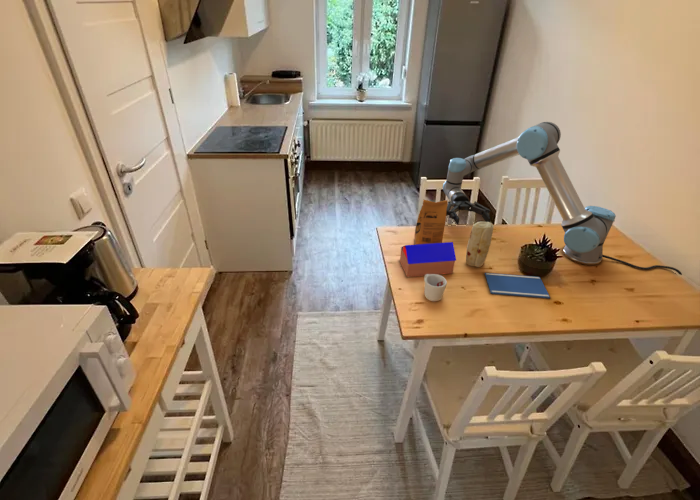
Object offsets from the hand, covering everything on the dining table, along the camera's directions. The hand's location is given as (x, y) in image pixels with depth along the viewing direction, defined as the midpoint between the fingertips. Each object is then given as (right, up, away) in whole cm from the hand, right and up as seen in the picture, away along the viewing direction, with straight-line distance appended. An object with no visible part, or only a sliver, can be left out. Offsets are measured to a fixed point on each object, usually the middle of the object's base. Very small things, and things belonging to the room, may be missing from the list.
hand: (473, 221), depth 163 cm
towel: (+13, -26, -11) cm, 32 cm away
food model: (0, -18, +1) cm, 18 cm away
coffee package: (-17, -9, +14) cm, 24 cm away
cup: (-22, -29, -17) cm, 40 cm away
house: (-21, -19, -2) cm, 29 cm away
